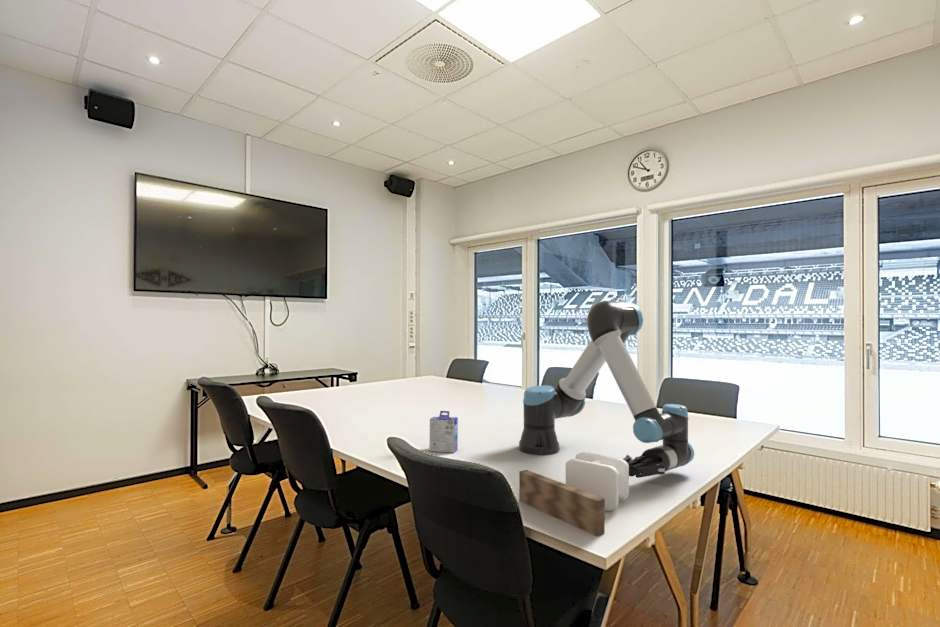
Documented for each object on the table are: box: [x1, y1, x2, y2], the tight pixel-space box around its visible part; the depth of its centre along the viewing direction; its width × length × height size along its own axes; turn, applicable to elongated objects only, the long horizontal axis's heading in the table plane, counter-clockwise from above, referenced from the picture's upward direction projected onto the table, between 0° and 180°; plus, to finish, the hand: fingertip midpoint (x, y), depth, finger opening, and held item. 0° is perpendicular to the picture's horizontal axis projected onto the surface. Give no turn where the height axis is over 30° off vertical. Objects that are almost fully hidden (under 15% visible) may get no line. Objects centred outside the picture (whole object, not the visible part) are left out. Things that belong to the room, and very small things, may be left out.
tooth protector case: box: [565, 451, 630, 512], centre depth 129 cm, size 15×11×12 cm
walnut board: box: [518, 469, 606, 537], centre depth 119 cm, size 26×2×8 cm, turn 37°
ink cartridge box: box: [428, 410, 459, 454], centre depth 178 cm, size 10×6×14 cm, turn 78°
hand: (611, 475), depth 131 cm, fingers closed
